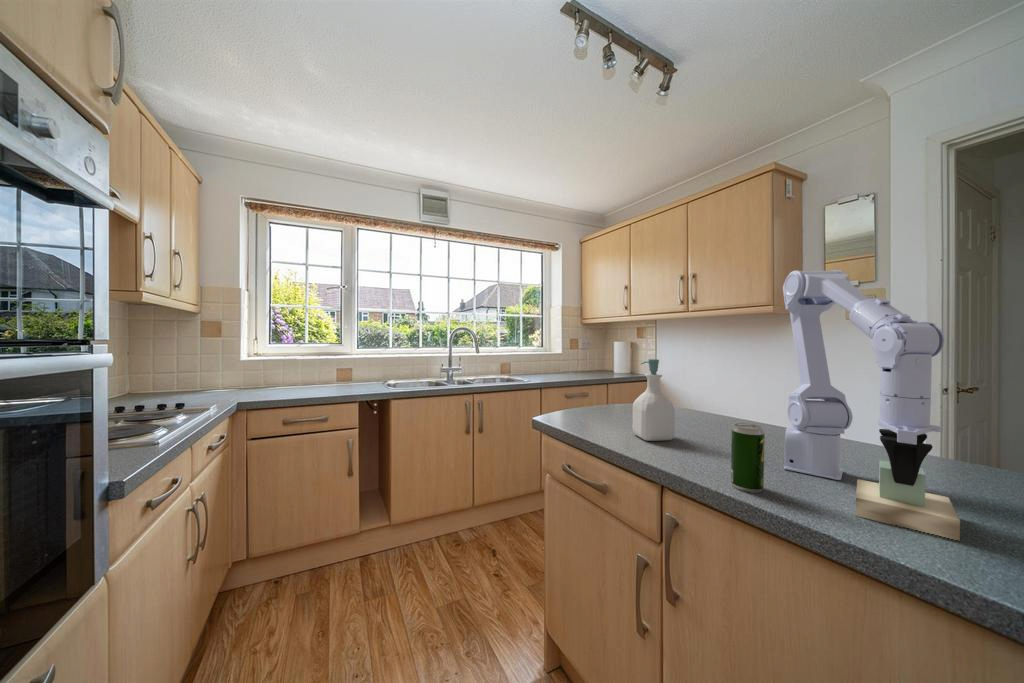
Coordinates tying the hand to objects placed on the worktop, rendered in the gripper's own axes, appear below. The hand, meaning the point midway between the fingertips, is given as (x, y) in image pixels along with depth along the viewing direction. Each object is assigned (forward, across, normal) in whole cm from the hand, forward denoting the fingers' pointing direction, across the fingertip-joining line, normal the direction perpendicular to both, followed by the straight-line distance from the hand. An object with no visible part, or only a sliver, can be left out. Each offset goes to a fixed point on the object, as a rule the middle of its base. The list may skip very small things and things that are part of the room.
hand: (902, 478), depth 61 cm
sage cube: (+3, 0, 0) cm, 3 cm away
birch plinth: (+6, 0, 0) cm, 6 cm away
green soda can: (+6, -5, +21) cm, 22 cm away
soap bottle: (+6, +17, +49) cm, 52 cm away
